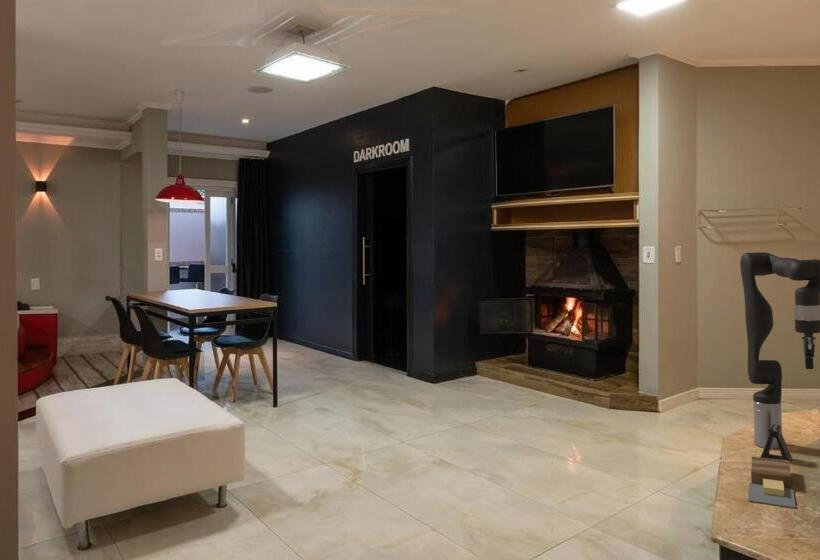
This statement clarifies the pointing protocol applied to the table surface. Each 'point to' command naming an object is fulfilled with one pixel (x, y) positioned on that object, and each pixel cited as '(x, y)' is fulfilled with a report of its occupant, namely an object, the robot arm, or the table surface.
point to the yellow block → (773, 487)
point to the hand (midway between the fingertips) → (809, 368)
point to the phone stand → (781, 444)
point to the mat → (771, 496)
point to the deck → (770, 471)
